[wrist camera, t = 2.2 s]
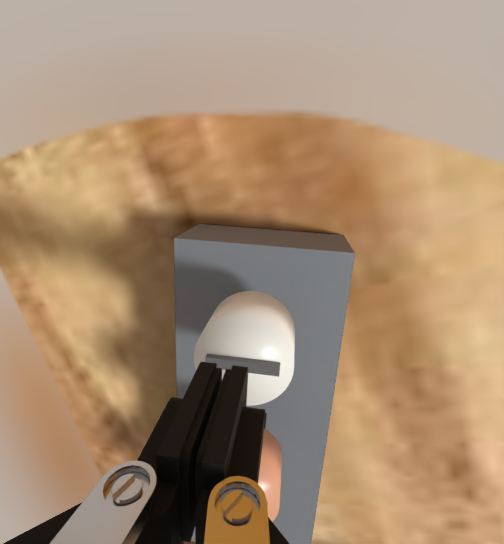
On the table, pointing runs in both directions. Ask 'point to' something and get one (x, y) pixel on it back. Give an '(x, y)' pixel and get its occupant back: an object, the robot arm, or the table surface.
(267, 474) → the knob middle
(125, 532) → the robot arm
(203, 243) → the control rail
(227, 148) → the table surface
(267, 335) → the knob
